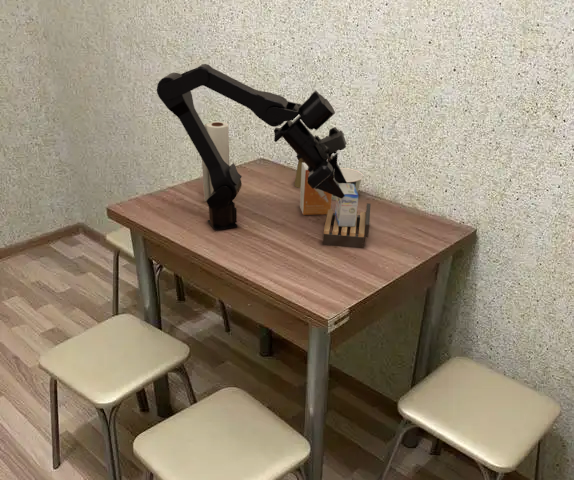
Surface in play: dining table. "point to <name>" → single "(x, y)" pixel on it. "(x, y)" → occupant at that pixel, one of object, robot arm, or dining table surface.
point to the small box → (312, 196)
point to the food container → (351, 178)
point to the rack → (343, 237)
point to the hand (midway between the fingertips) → (344, 190)
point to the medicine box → (347, 206)
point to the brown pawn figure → (299, 173)
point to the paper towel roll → (221, 141)
